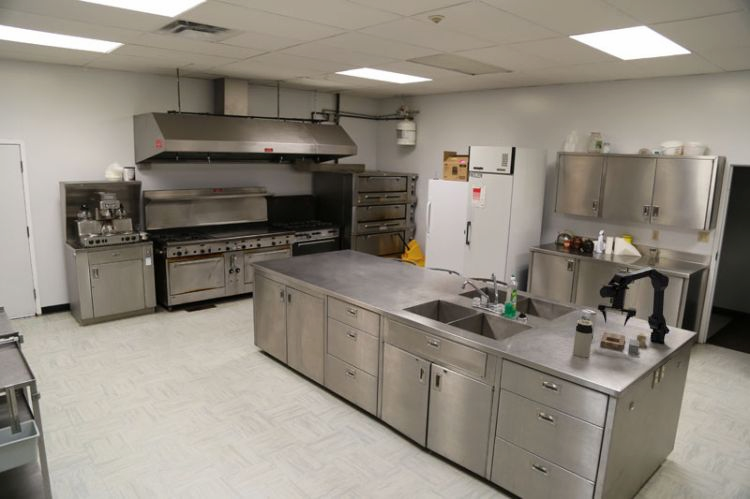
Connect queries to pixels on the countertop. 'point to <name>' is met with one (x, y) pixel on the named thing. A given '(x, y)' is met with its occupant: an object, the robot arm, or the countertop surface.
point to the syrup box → (589, 317)
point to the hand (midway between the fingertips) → (615, 324)
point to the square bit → (641, 339)
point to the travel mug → (583, 338)
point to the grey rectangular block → (633, 347)
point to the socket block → (612, 341)
